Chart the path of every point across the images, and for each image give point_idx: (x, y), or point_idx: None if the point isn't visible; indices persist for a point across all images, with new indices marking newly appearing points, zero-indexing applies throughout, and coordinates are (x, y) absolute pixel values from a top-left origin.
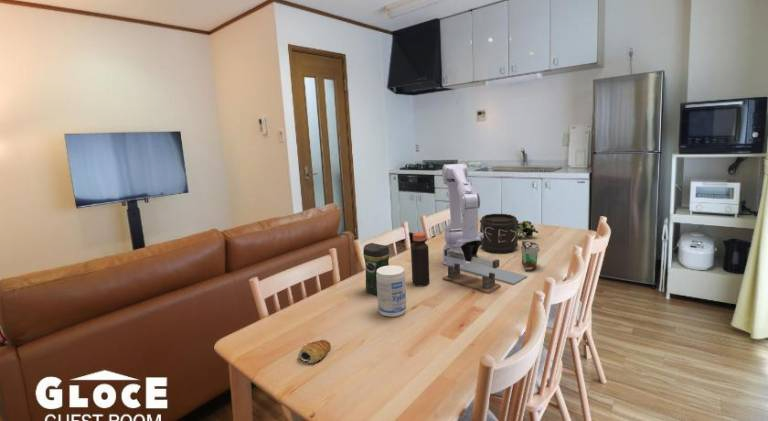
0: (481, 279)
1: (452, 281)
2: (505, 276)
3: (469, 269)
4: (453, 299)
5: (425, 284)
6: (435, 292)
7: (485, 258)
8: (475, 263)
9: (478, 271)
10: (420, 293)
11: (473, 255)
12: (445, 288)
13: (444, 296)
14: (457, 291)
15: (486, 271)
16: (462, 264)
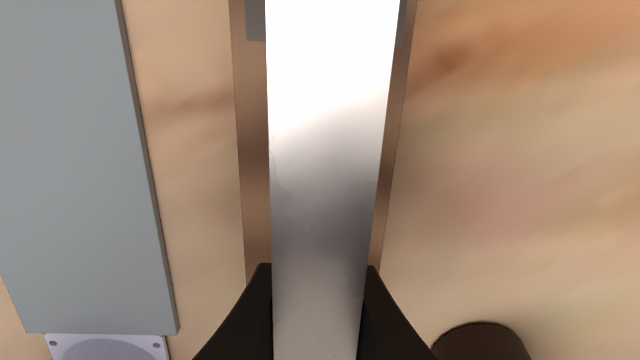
0: (240, 127)
1: (380, 254)
2: (21, 12)
3: (139, 281)
4: (624, 105)
5: (500, 328)
6: (560, 242)
7: (331, 110)
8: (26, 305)
9: (119, 225)
10: (605, 288)
11: (315, 303)
12: (478, 233)
13: (597, 174)
14: (486, 156)
15: (72, 186)
16: (115, 344)
